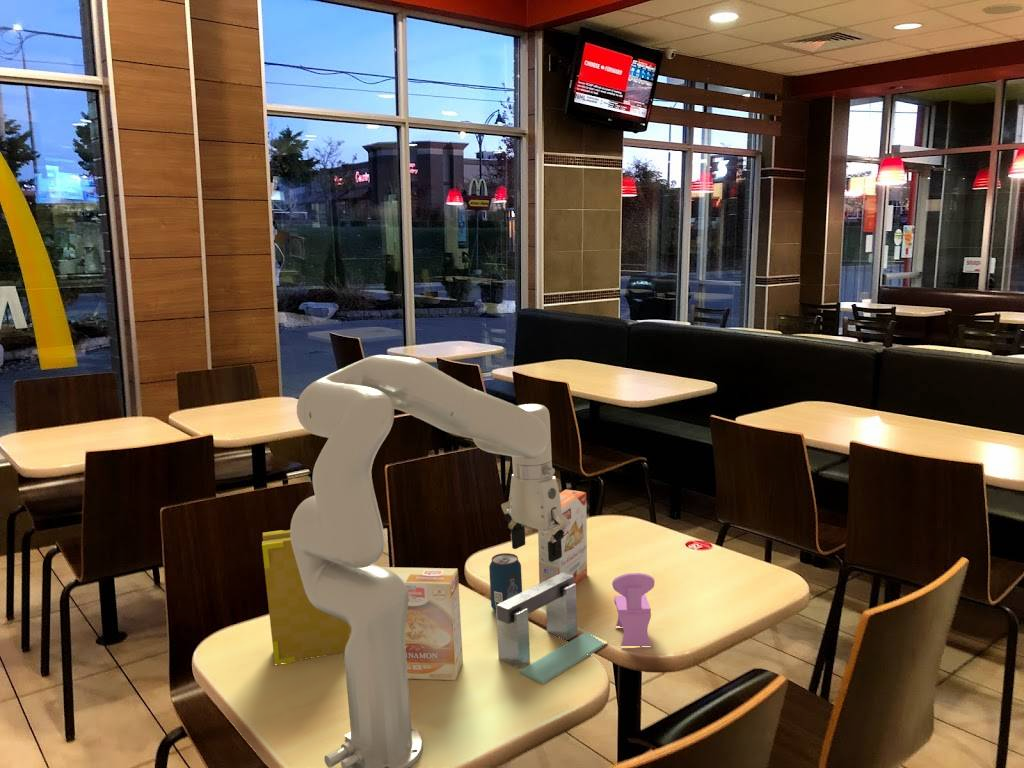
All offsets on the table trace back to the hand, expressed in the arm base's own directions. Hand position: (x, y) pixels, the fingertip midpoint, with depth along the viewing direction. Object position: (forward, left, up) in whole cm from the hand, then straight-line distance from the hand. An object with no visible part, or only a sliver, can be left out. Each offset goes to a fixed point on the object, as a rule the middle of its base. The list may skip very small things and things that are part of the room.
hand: (536, 553), depth 156 cm
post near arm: (-7, 0, -20) cm, 21 cm away
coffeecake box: (-21, +11, -20) cm, 31 cm away
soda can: (+7, +16, -20) cm, 26 cm away
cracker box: (+25, +15, -20) cm, 35 cm away
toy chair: (+15, -12, -20) cm, 27 cm away
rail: (0, 0, -11) cm, 11 cm away
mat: (0, -7, -20) cm, 21 cm away
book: (-30, +33, -20) cm, 49 cm away
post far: (+7, 0, -20) cm, 21 cm away
